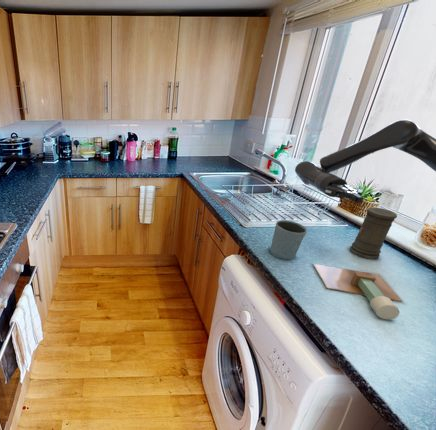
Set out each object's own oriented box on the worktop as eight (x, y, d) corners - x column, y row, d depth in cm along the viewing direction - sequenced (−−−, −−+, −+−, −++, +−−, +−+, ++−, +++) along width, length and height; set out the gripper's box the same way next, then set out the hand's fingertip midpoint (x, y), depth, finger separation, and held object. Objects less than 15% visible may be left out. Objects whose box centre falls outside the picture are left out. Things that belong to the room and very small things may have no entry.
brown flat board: (378, 275, 99) (378, 274, 99) (401, 302, 87) (402, 300, 87) (313, 265, 104) (313, 263, 104) (326, 288, 92) (327, 287, 92)
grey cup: (270, 244, 117) (278, 218, 112) (298, 252, 112) (308, 225, 107) (266, 255, 110) (274, 227, 105) (296, 264, 105) (306, 235, 100)
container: (381, 254, 112) (402, 213, 104) (373, 262, 107) (394, 218, 99) (354, 245, 118) (371, 204, 111) (345, 251, 114) (362, 209, 106)
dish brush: (373, 273, 92) (402, 307, 78) (367, 286, 94) (395, 321, 80) (355, 270, 93) (381, 303, 79) (349, 283, 95) (373, 317, 81)
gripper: (314, 174, 111) (343, 189, 95) (350, 175, 110) (385, 190, 94) (308, 192, 114) (335, 209, 98) (343, 194, 113) (376, 211, 97)
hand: (360, 200), depth 96 cm, fingers closed
